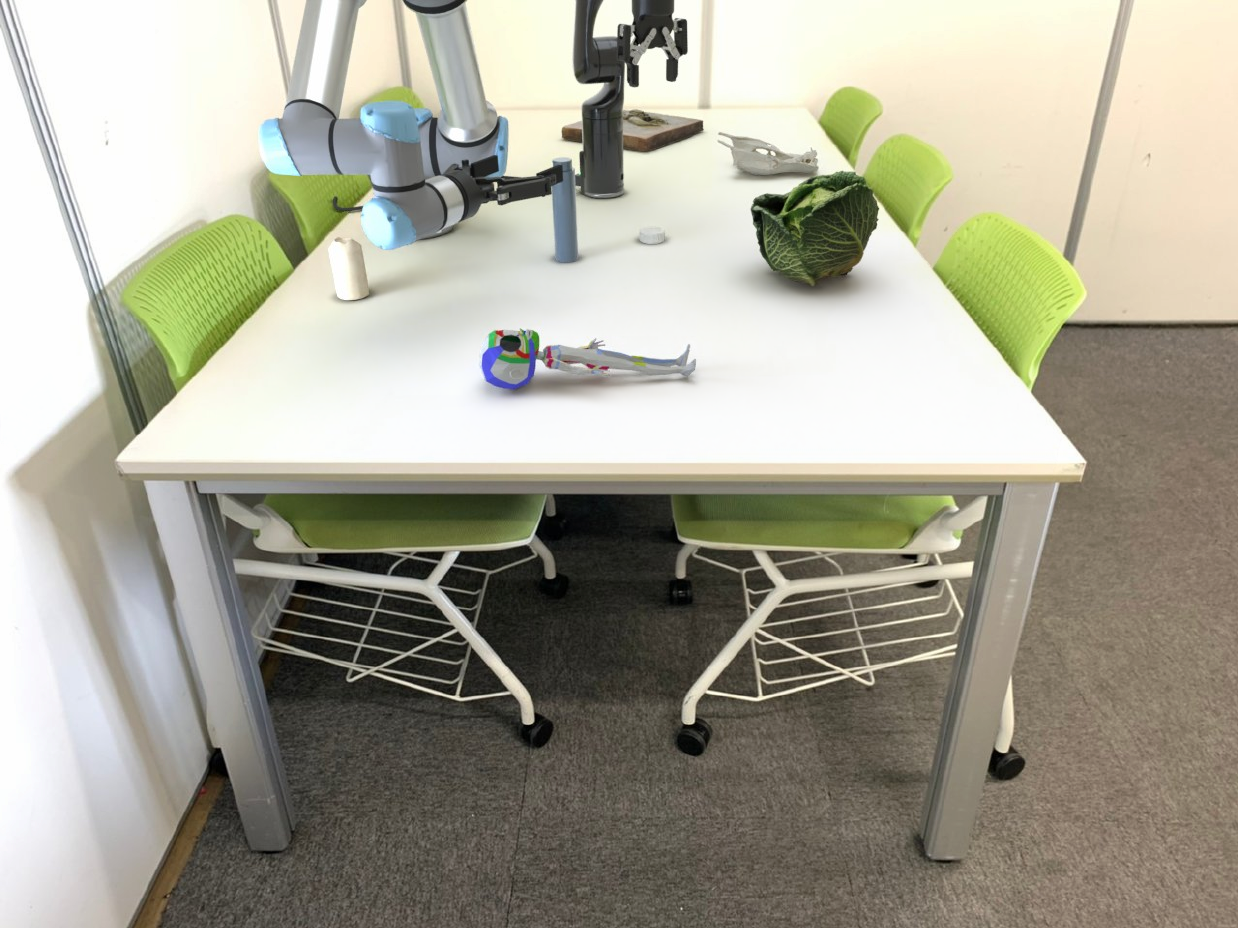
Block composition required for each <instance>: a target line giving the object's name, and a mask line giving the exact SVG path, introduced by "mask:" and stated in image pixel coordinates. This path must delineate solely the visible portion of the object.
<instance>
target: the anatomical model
mask: <svg viewBox="0 0 1238 928" xmlns="http://www.w3.org/2000/svg"><path fill="white" fill-rule="evenodd" d="M717 134H718V136H723V137H726V138H728V139H730V140H731V142H732V145H730V144H728V143H726V142H725V141H723V140H720V139H717V140H716V142H717V143H719V144H721V145H723V146H725V147H727V148H729V150H730V153H731V156H732V164H733V165H732V166H734V167H737V170H738V171H740V172H748V173H749V174H751V175H754V176H771V175H777V174H781V173H803V174H809V173H814V172H817V171H819V169H820V167H819V165H818V163H819V158H817V156H818V152H817V150H816V149H813V148H812V146H810V151H806V152H804V153H803V154H800V153H799V154H798V153H788V152H784V151H782V150H780V148H779V147H777V146H776V145H774V144H772V143H769V142H767V141H765V140H761V139H758V138H753V137H749V136H739V135H733V134H729V133H725V132H723V131H718V133H717ZM758 150H765V151H767V153H766V154H764V153H762V152H760V151H758ZM771 152H773V153H774V155H773V154H772V153H771Z"/></svg>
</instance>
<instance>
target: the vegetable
mask: <svg viewBox="0 0 1238 928" xmlns="http://www.w3.org/2000/svg"><path fill="white" fill-rule="evenodd" d="M856 172H857V171H844V170H840V171H835V172H833V173H832V174H821V175H817V176H812V177H809V178H808V179H805V180H804V181H802V182H801V183H799V184H798V185H797V186H794V187H793V188H792V189H791V190H790V191H789V192H787V193H784V194H779V193H769V192H766V193H764V194H761V195H759V196H756V197H754V199H753V200H752V204H751V207H750V208H749V209H750V213H751V217H752V225H753V226H754V228H755V229H756V232H755V236H756V238H757V244H758V246H759V253H760V255H761V257H762V258H763V259H764V260H765V262H766V264H767V265H768V267H769V268H770V269H771V270H772V271H773V272H779V273H780V274H781V275H782V276H783V277H786V278H788V279H789V280H791V281H795V282H797V283H806V284H809V285H810V286H811V287H814V286H815V285H819V282H818V280H820V279H822V278H826V277H827V278H828V277H833V278H837V277H838V276H848V273H850V272H852V270H853V269H854V267H855V266H857V265H858V264H859V263H860V262H861V261H862V259H863V256H864V254H865V253H864V252H865V250H866V248H867V246H868V243H869V241H870V237H871V236H872V233H873V232H874V231H875V230H876V229H877V227H878V221H879V219H880V218H878V216H879V210H880V207H879V205H878V201H877V199H876V198H875V196H874V191H873V190H872V187H869V186H868V184H867V180H866V179H865V177H864V176H861V175H859V174H857V173H856Z"/></svg>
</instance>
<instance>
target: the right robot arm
mask: <svg viewBox="0 0 1238 928" xmlns="http://www.w3.org/2000/svg"><path fill="white" fill-rule="evenodd" d="M574 1H575V2H574V19H573V22H574V23H573V34H572V47H571V48H572V49H571V50H572V51H571V63H572V72H573V76H574V78H575V81H576V82H577V83H578V84H580V85H597V84H603V85H602V88H601V89H600V90H599V91H598V92H597V93H595V94H594V95H593V96H591V97H589V98H588V99H586V100H584V101H583V102H582V103H581V109H580V112H581V121H582V140H583V142H582V150H580V151H579V153H578V156H579V172H578V173H575V186H576V187H580V195H585V196H587V197H589V198H595V199H612V198H617V197H620V196H622V195H624V193H625V187H624V186H625V183H624V181H625V174H624V173H625V172H624V148H623V110H624V102H625V79H626V82H627V84H628V86H629V87H630V88H639V86H640V65H639V64H638V63H639V61H640V59H642V56H643V55H644V54H645V53H646V52H647V50H653V49H655V48H658V49H661V50H662V51H663V52H664V54H665V56H666V57H667V58H666V59H665V80H666V81H667V82H671V83H675V82H676V81H677V78H678V76H679V59H680V58H681V57H682V56H686V55H687V54H688V53H689V52H688V51H689V49H688V48H689V47H688V45H689V42H688V20H687V19H686V18H680V17H675V18H674V19H673V14H674V13H675V0H631V13H632V15H633V16H632V17H633V19H632V23H631V24H626V23H619V24H618V25H617V31H616V32H617V33H616V34H617V36H615V35H603V36H602V35H601V36H594V31H595V24H596V19H597V16H598V13H599V11H600V9H601V6H602V5H603V3H604V1H605V0H574ZM672 32H673V37H672V36H671V34H672ZM633 36H634V37H633ZM632 37H633V39H632ZM631 40H632V41H631ZM521 177H522V176H511V175H503V176H502V177H501V179H512V178H521Z"/></svg>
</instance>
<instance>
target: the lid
mask: <svg viewBox="0 0 1238 928" xmlns="http://www.w3.org/2000/svg"><path fill="white" fill-rule="evenodd" d="M638 234H639V237H638V238H639V242H641V243H643V244H648V245H656V244H661V243H664V241H665V239H666V232H665V229H664V228H662V227H659V226H645V227H642V228H640V229H639V232H638Z"/></svg>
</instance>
